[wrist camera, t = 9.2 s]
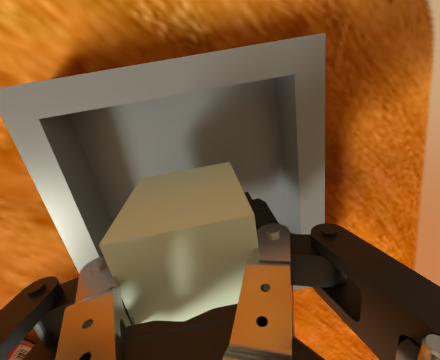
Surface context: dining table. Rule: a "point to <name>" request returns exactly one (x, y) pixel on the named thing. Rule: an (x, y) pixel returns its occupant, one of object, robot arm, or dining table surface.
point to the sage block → (181, 244)
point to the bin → (176, 133)
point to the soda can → (21, 350)
